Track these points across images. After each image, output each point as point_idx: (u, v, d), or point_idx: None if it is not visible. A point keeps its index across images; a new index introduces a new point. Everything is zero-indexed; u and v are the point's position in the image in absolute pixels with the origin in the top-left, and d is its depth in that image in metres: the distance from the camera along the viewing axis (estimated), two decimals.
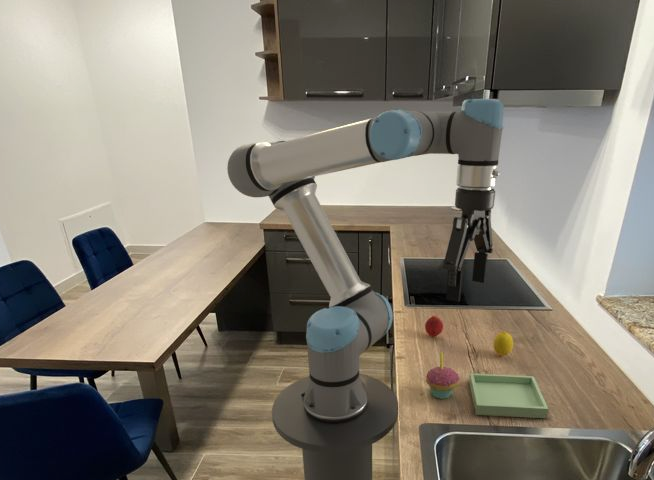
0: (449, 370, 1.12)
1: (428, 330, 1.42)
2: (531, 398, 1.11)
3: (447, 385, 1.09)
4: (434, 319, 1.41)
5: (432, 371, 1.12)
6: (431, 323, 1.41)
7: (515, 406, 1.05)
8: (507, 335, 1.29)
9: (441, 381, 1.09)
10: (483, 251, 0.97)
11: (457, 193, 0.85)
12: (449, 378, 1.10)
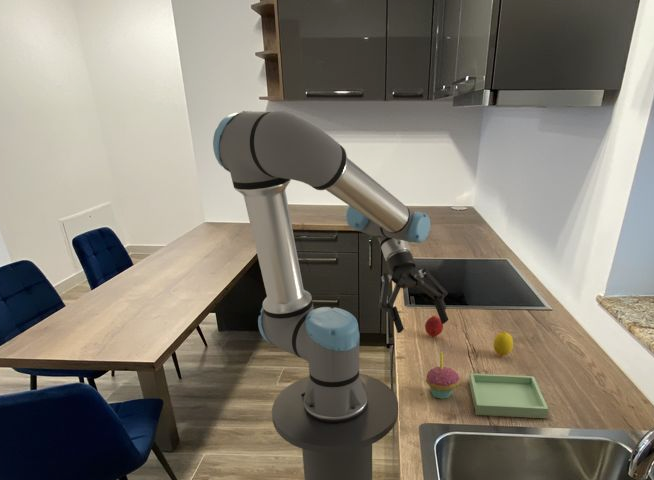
0: (449, 370, 1.12)
1: (428, 330, 1.42)
2: (531, 398, 1.11)
3: (447, 385, 1.09)
4: (434, 319, 1.41)
5: (432, 371, 1.12)
6: (431, 323, 1.41)
7: (515, 406, 1.05)
8: (507, 335, 1.29)
9: (441, 381, 1.09)
10: (438, 298, 1.22)
11: None
12: (449, 378, 1.10)
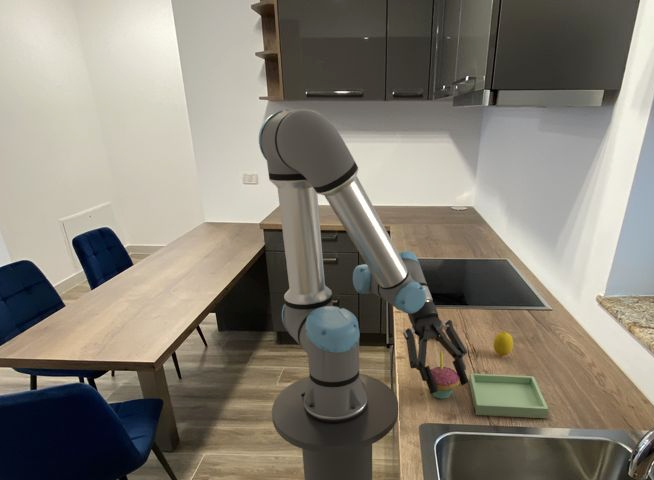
0: (449, 370, 1.12)
1: None
2: (531, 398, 1.11)
3: (447, 385, 1.09)
4: None
5: (432, 371, 1.12)
6: None
7: (515, 406, 1.05)
8: (507, 335, 1.29)
9: (441, 381, 1.09)
10: (456, 357, 1.14)
11: None
12: (449, 378, 1.10)
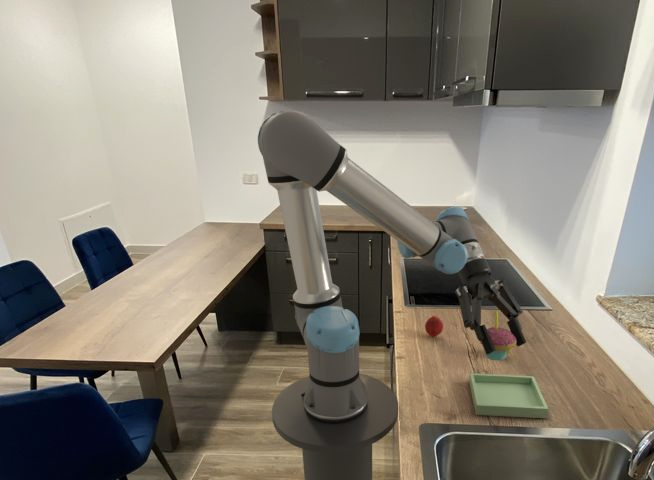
0: (505, 330, 1.06)
1: (428, 330, 1.42)
2: (531, 398, 1.11)
3: (504, 345, 1.02)
4: (434, 319, 1.41)
5: None
6: (431, 323, 1.41)
7: (515, 406, 1.05)
8: None
9: (497, 341, 1.03)
10: (511, 316, 1.08)
11: None
12: (506, 337, 1.03)
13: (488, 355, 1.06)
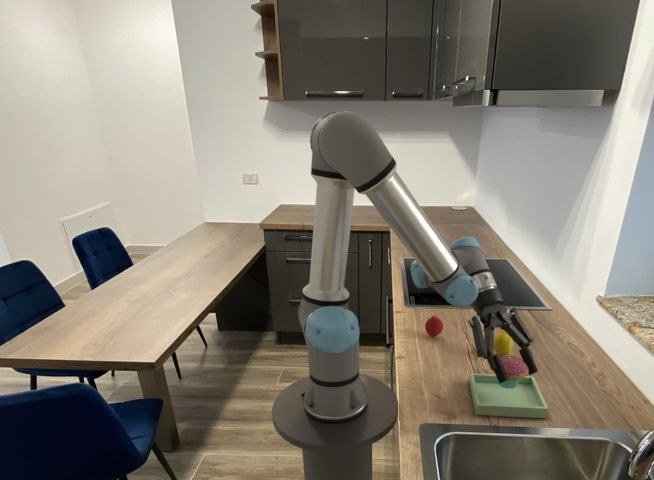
0: (517, 359, 1.08)
1: (428, 330, 1.42)
2: (531, 398, 1.11)
3: (516, 374, 1.05)
4: (434, 319, 1.41)
5: None
6: (431, 323, 1.41)
7: (515, 406, 1.05)
8: (507, 335, 1.29)
9: (510, 370, 1.05)
10: (523, 345, 1.10)
11: None
12: (519, 367, 1.06)
13: (501, 383, 1.09)
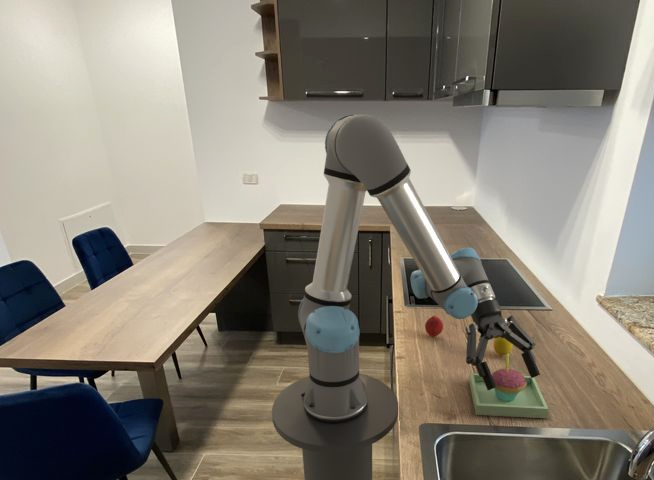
0: (515, 372, 1.10)
1: (428, 330, 1.42)
2: (531, 398, 1.11)
3: (514, 387, 1.06)
4: (434, 319, 1.41)
5: (497, 373, 1.10)
6: (431, 323, 1.41)
7: (515, 406, 1.05)
8: None
9: (508, 384, 1.07)
10: (526, 350, 1.13)
11: None
12: (517, 380, 1.07)
13: (499, 396, 1.10)
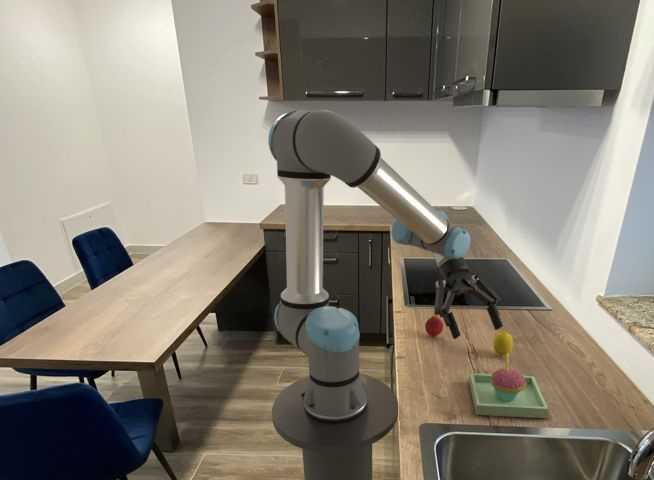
0: (515, 372, 1.10)
1: (428, 330, 1.42)
2: (531, 398, 1.11)
3: (514, 387, 1.06)
4: (434, 319, 1.41)
5: (497, 373, 1.10)
6: (431, 323, 1.41)
7: (515, 406, 1.05)
8: (507, 335, 1.29)
9: (508, 384, 1.07)
10: (491, 304, 1.22)
11: None
12: (517, 380, 1.07)
13: (499, 396, 1.10)
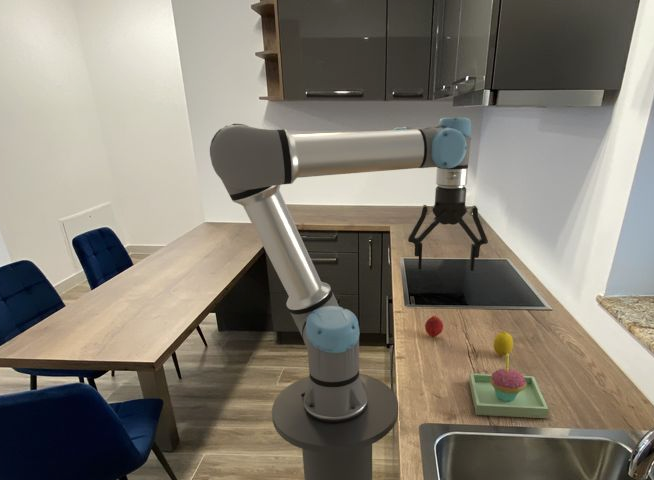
0: (515, 372, 1.10)
1: (428, 330, 1.42)
2: (531, 398, 1.11)
3: (514, 387, 1.06)
4: (434, 319, 1.41)
5: (497, 373, 1.10)
6: (431, 323, 1.41)
7: (515, 406, 1.05)
8: (507, 335, 1.29)
9: (508, 384, 1.07)
10: (475, 244, 1.14)
11: None
12: (517, 380, 1.07)
13: (499, 396, 1.10)
